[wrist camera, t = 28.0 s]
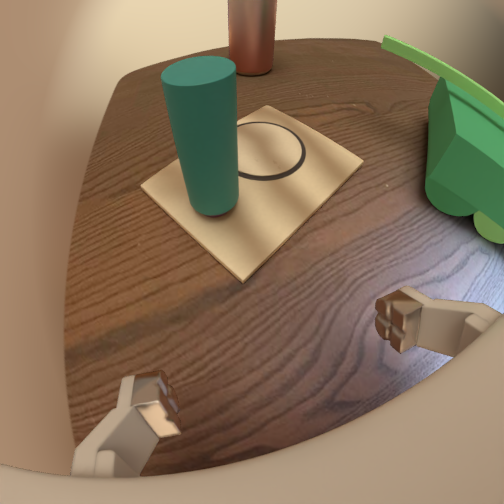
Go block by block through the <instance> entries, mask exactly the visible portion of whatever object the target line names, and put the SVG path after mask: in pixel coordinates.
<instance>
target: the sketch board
mask: <svg viewBox="0 0 504 504" xmlns="http://www.w3.org/2000/svg"><path fill="white" fill-rule="evenodd" d="M237 139H238V178H239V198H238V201H237V203H236V204H235V205H234V207H233V208H232V209H230V210H229V211H228V212H227V213H226V214H225V215H223V216H220V217H208V216H205V215H204V214H201V213H199V212H197V211H196V210H195V209H194V208H193V207H192V206H191V204H190V201H189V197H188V193H187V189H186V185H185V182H184V178H183V174H182V170H181V166H180V162H179V158H178V159H176V160H175V161H174V162H172V163H171V164H169V165H168V166H166V167H165V168H164V169H162V170H161V171H159V172H158V173H157V174H155V175H154V176H152V177H151V178H150V179H148V180H147V181H146V182H144V183H143V184H142V185H141V188H142V190H143V191H144V192H145V193H146V194H147V195H148V196H149V197H150V198H151V199H152V200H153V201H154V202H155V203H156V204H157V205H159V206H160V207H161V208H162V209H163V210H164V211H165V212H166V213H167V214H168V215H169V216H170V217H171V218H172V219H173V220H174V221H175V222H176V223H177V224H179V225H180V226H181V227H182V228H183V229H184V230H185V231H186V232H187V233H188V234H189V235H190V236H191V237H192V238H193V239H195V240H196V241H197V242H198V243H199V244H200V245H201V246H202V247H203V248H204V249H205V250H206V251H208V252H209V253H210V254H211V255H212V256H213V257H214V258H215V259H216V260H217V261H218V262H220V263H221V264H222V265H223V266H224V267H225V268H226V269H227V270H228V271H229V272H231V273H232V274H233V275H234V276H235V277H236V278H237V279H238V280H239V281H241V282H242V283H244V282H245V281H246V280H247V279H248V278H249V277H250V276H251V275H253V274H254V273H255V272H256V271H257V270H258V269H259V268H260V267H261V266H262V265H263V264H264V263H265V262H266V261H267V260H268V259H269V258H270V257H271V256H272V255H273V254H274V253H275V252H276V251H277V250H278V249H279V248H280V247H281V246H282V245H283V244H284V243H285V242H286V241H287V240H288V239H289V238H290V237H291V236H292V235H293V234H294V233H295V232H296V231H297V230H298V229H299V228H300V227H301V226H302V225H303V224H304V223H305V222H306V221H307V220H308V219H309V218H310V217H311V216H312V215H313V214H314V213H315V212H316V211H317V210H318V209H319V208H320V207H321V206H322V205H323V204H324V203H325V202H326V201H327V200H328V199H329V198H330V197H331V196H332V195H333V194H334V193H335V192H336V191H337V190H338V189H339V188H340V187H341V186H342V185H343V184H344V183H345V182H346V181H347V180H348V179H349V178H350V177H351V176H352V175H353V174H354V173H355V172H356V171H357V170H358V169H359V168H360V167H361V166H362V164H363V162H364V161H363V160H362V159H360V158H359V157H357V156H356V155H354V154H353V153H351V152H350V151H348V150H346V149H345V148H343V147H342V146H340V145H338V144H337V143H335V142H334V141H332V140H330V139H329V138H327V137H325V136H324V135H322V134H320V133H319V132H317V131H315V130H313V129H312V128H310V127H308V126H306V125H305V124H303V123H301V122H299V121H297V120H295V119H294V118H292V117H290V116H288V115H286V114H284V113H282V112H280V111H278V110H276V109H274V108H272V107H270V106H268V105H266V106H264V107H263V108H261V109H259V110H257V111H255V112H253V113H251V114H250V115H248V116H246V117H244V118H242V119H241V120H239V121H237Z"/></svg>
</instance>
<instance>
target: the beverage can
mask: <svg viewBox="0 0 504 504" xmlns="http://www.w3.org/2000/svg"><path fill="white" fill-rule="evenodd" d="M276 9H277V0H228V26H229V27H228V29H229V60H231V61H233V62H234V63H235V65H236V73H238V74H241V75H249V76H254V75H262V74H265V73H267V72H268V71H269V70H270V69H271V68H272V66H273V54H274V39H275V38H274V37H275V24H276Z"/></svg>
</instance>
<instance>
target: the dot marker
mask: <svg viewBox="0 0 504 504" xmlns="http://www.w3.org/2000/svg"><path fill="white" fill-rule="evenodd" d="M161 81H162V86H163V91H164V96H165V100H166V105H167V110H168V114H169V119H170V123H171V128H172V132H173V136H174V141H175V145H176V149H177V153H178V157H179V162H180V166H181V170H182V174H183V178H184V182H185V185H186V189H187V193H188V197H189V201H190V204H191V206H192V207H193V208H194V209H195V210H196V211H197V212H199V213H201V214H204V215H205V216H208V217H220V216H223V215H225V214H226V213H227V212H228V211H229V210H230V209H232V208H233V207H234V205H235V204H236V203H237V201H238V198H239V178H238V139H237V92H236V65H235V63H234V62H233V61H231V60H229V59H227V58H223V57H218V56H199V57H193V58H188V59H184V60H181V61H179V62H176V63H174V64H172V65H170V66H169V67H167V68H166V69H165V70H164V71H163V72H162V74H161Z"/></svg>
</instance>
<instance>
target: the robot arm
mask: <svg viewBox="0 0 504 504" xmlns="http://www.w3.org/2000/svg"><path fill="white" fill-rule="evenodd" d="M375 309H376V310H377V311H378V314H377V316H376V318H375V327H376V330H377V332H378V334H379V335H380V336H381V337H382V338H383V339H384V340H389V341H390V345H391V346H392V347H393V348H394V349H395V350H396V351H397V352H399V353H400V354H401V353H403V352H405V351H407V350H409V349H410V348H412V347H414V346H416V345H417V346H418V347H421V348H424V349H428V350H431V351H434V352H438V353H441V354H444V355H448V356H451V357H454V358H452V359H451V360H450V361H449V362H447V363H446V364H445V365H443V366H442V367H441V368H439V369H438V370H436V371H435V372H434V373H432V374H431V375H429V376H428V377H426V378H425V379H423V380H422V381H420V382H419V383H417V384H416V385H414V386H413V387H411V388H410V389H408V390H407V391H405V392H403V393H402V394H400V395H398V396H397V397H395V398H393V399H392V400H390V401H388V402H386V403H385V404H383V405H381V406H379V407H378V408H376V409H374V410H372V411H370V412H368V413H366V414H364V415H362V416H360V417H358V418H356V419H354V420H352V421H350V422H348V423H346V424H344V425H342V426H340V427H337V428H335V429H333V430H331V431H328V432H326V433H324V434H321V435H319V436H316V437H314V438H311V439H309V440H306V441H304V442H301V443H298V444H295V445H293V446H290V447H287V448H284V449H281V450H278V451H275V452H272V453H268V454H265V455H262V456H258V457H255V458H251V459H247V460H243V461H240V462H235V463H231V464H227V465H222V466H218V467H213V468H208V469H202V470H196V471H190V472H183V473H176V474H168V475H158V476H146V477H141V476H140V473H141V471H142V469H143V468H144V466H145V464H146V462H147V461H148V459H149V457H150V455H151V453H152V452H153V450H154V448H155V446H156V445H157V443H158V441H159V438H163V437H168V436H174V435H179V434H181V420H180V418H179V417H178V415H177V414H178V412H179V411H180V406H179V401H178V397H177V395H176V392H175V390H174V388H173V387H172V386H171V385H169V384H168V377H167V375H166V374H165V372H164V371H163V370H158V371H153V372H147V373H142V374H136V375H131V376H125V377H123V378H122V381H121V386H120V391H119V396H118V402H117V407H116V409H112V410H111V411H110V412H109V413H108V415H107V416H106V417H105V418H104V419H103V420H102V421H101V422H100V423H99V424H98V425H97V426H96V427H95V428H94V430H93V431H92V432H91V433H90V434H89V435H88V436H87V437H86V438H85V439H84V440H83V441H82V442H81V443H80V445H79V446H78V447H77V448H76V449H75V452H74V457H73V462H72V467H71V472H70V476H66V475H58V474H49V473H43V472H37V471H31V470H26V469H21V468H17V467H12V466H8V465H4V464H0V504H504V313H503V314H501V313H500V312H498V311H496V310H494V309H493V308H491V307H489V306H487V305H486V304H484V303H474V302H463V301H453V300H443V299H434V300H432V299H431V298H429V297H427V296H426V295H424V294H422V293H420V292H419V291H417V290H415V289H413V288H412V287H410V286H404V287H402V288H400V289H398V290H396V291H395V292H392V293H390V294H388V295H386V296H384V297H382V298H379V299H377V301H376V304H375Z"/></svg>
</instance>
